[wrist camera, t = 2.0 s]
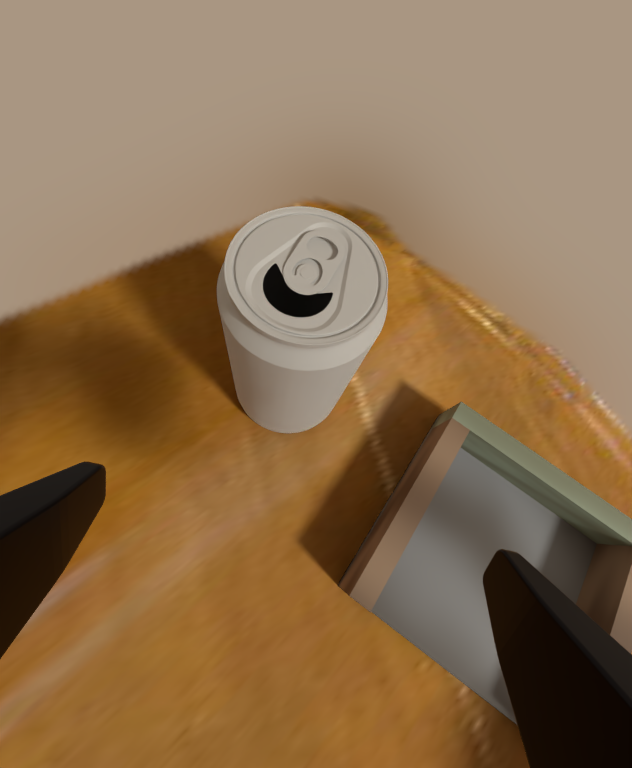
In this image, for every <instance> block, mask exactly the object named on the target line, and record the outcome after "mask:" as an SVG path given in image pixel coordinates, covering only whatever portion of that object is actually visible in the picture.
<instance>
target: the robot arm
mask: <svg viewBox="0 0 632 768" xmlns="http://www.w3.org/2000/svg"><path fill="white" fill-rule="evenodd" d="M105 495H106V470H105V467H104V466H103V465H101V464H96V463H91V462H82V463H79V464H77V465H74V466H72V467H69V468H67V469H64V470H62V471H59V472H57V473H55V474H52V475H50V476H47V477H45V478H42V479H40V480H37V481H35V482H33V483H30V484H28V485H25V486H23V487H20V488H18V489H15V490H13V491H11V492H8V493H6V494H3V495H1V496H0V659H1V657H2V656H3V654H4V653H5V652H6V650H7V649H8V648H9V646H10V645H11V643H12V642H13V641H14V639H15V638H16V636H17V635H18V634H19V632H20V631H21V630H22V628H23V627H24V625H25V624H26V623H27V621H28V620H29V619H30V617H31V616H32V614H33V613H34V612H35V610H36V609H37V608H38V606H39V605H40V603H41V602H42V601H43V599H44V598H45V597H46V595H47V594H48V592H49V591H50V590H51V588H52V587H53V585H54V584H55V583H56V581H57V580H58V578H59V577H60V575H61V574H62V573H63V571H64V570H65V568H66V566H67V565H68V563H69V561H70V560H71V558H72V556H73V555H74V553H75V551H76V549H77V548H78V546H79V544H80V543H81V541H82V539H83V537H84V536H85V534H86V532H87V531H88V529H89V527H90V525H91V524H92V522H93V520H94V519H95V517H96V515H97V513H98V512H99V510H100V508H101V507H102V505H103V502H104V500H105ZM483 587H484V592H485V597H486V602H487V607H488V612H489V617H490V622H491V627H492V632H493V638H494V643H495V647H496V651H497V656H498V659H499V663H500V667H501V670H502V674H503V677H504V681H505V684H506V687H507V691H508V694H509V698H510V701H511V704H512V708H513V711H514V715H515V718H516V721H517V725H518V728H519V732H520V735H521V738H522V742H523V745H524V749H525V752H526V756H527V759H528V762H529V766H530V768H632V654H630V653H629V652H628V651H627V650H626V649H625V648H624V647H623V646H622V645H620V644H619V643H618V642H617V641H616V640H615V639H614V638H613V637H612V636H610V635H609V634H608V633H607V632H606V631H605V630H604V629H603V628H602V627H600V626H599V625H598V624H597V623H596V622H595V621H594V620H593V619H592V618H590V617H589V616H588V615H587V614H586V613H585V612H584V611H583V610H582V609H580V608H579V607H578V606H577V605H576V604H575V603H574V602H573V601H572V600H570V599H569V598H568V597H567V596H566V595H565V594H564V593H563V592H562V591H560V590H559V589H558V588H557V587H556V586H555V585H554V584H553V583H552V582H550V581H549V580H548V579H547V578H546V577H545V576H544V575H543V574H542V573H540V572H539V571H538V570H537V569H536V568H535V567H534V566H533V565H532V564H530V563H529V562H528V561H527V560H526V559H525V558H524V557H523V556H521V555H520V554H519V553H517V552H514V551H510V550H505V549H499V550H498V551H496V553H495V554H494V556H493V558H492V559H491V561H490V563H489V565H488V566H487V568H486V570H485V572H484V574H483Z"/></svg>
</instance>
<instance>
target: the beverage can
mask: <svg viewBox="0 0 632 768" xmlns="http://www.w3.org/2000/svg"><path fill="white" fill-rule="evenodd" d="M387 290H388V273H387V268H386V265H385V261H384V259H383V256H382V254H381V252H380V250H379V249H378V247H377V246H376V244H375V243H374V241H373V240H372V239H371V238H370V237H369V236H368V235H367V234H366V233H365V232H364V231H363V230H362V229H361V228H360V227H358V226H357V225H356V224H354V223H353V222H351V221H350V220H348V219H346V218H344V217H343V216H340V215H338V214H336V213H333V212H330V211H327V210H323V209H319V208H313V207H302V206H295V207H284V208H279V209H275V210H272V211H269V212H266V213H264V214H261V215H259V216H257V217H256V218H254V219H252V220H251V221H249V222H248V223H247V224H246V225H244V226H243V227H242V228H241V229H240V230H239V231H238V233H237V234H236V235H235V236H234V238H233V240H232V241H231V243H230V245H229V247H228V250H227V253H226V257H225V261H224V263H223V265H222V268H221V271H220V273H219V277H218V282H217V302H218V307H219V312H220V317H221V322H222V326H223V331H224V336H225V341H226V345H227V350H228V355H229V360H230V365H231V369H232V374H233V379H234V384H235V389H236V393H237V397H238V400H239V402H240V404H241V406H242V407H243V409H244V411H245V412H246V414H247V415H248V416H249V417H250V418H251V419H252V420H253V421H254V422H256V423H257V424H259V425H260V426H262V427H264V428H266V429H269V430H271V431H275V432H279V433H297V432H302V431H305V430H308V429H310V428H312V427H314V426H316V425H318V424H319V423H320V422H322V421H323V420H324V419H325V418H326V417H327V416H328V415H329V414H330V412H331V411H332V409H333V408H334V406H335V404H336V403H337V401H338V400H339V398H340V396H341V395H342V393H343V392H344V390H345V388H346V387H347V385H348V384H349V382H350V380H351V379H352V377H353V375H354V374H355V372H356V371H357V369H358V367H359V366H360V364H361V363H362V361H363V359H364V358H365V356H366V355H367V353H368V351H369V350H370V348H371V346H372V345H373V343H374V342H375V340H376V338H377V337H378V335H379V334H380V332H381V330H382V327H383V325H384V321H385V318H386V314H387Z"/></svg>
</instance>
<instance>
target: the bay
mask: <svg viewBox="0 0 632 768" xmlns="http://www.w3.org/2000/svg"><path fill="white" fill-rule="evenodd" d="M499 549H505V550H510V551H514V552H517V553H519V554H520V555H521V556H523V557H524V558H525V559H526V560H527V561H528V562H529V563H530V564H532V565H533V566H534V567H535V568H536V569H537V570H538V571H539V572H540V573H542V574H543V575H544V576H545V577H546V578H547V579H548V580H549V581H550V582H552V583H553V584H554V585H555V586H556V587H557V588H558V589H559V590H560V591H562V592H563V593H564V594H565V595H566V596H567V597H568V598H569V599H570V600H572V601H573V602H574V603H575V604H576V605H577V606H578V607H579V608H580V609H582V610H583V611H584V612H585V613H586V614H587V615H588V616H589V617H590V618H592V619H593V620H594V621H595V622H596V623H597V624H598V625H599V626H600V627H602V628H603V629H604V630H605V631H606V632H607V633H608V634H609V635H610V636H612V637H613V638H614V639H615V640H616V641H617V642H618V643H619V644H620V645H622V646H623V647H624V648H625V649H626V650H627V651H628V652H629V653H630V654H631V652H632V519H631V518H629V517H628V516H626V515H625V514H623V513H622V512H620V511H619V510H618V509H616V508H615V507H613V506H612V505H610V504H609V503H607V502H606V501H605V500H603V499H602V498H600V497H599V496H597V495H596V494H594V493H593V492H592V491H590V490H589V489H587V488H586V487H584V486H583V485H581V484H580V483H578V482H577V481H576V480H574V479H573V478H571V477H570V476H568V475H567V474H565V473H564V472H563V471H561V470H560V469H558V468H557V467H555V466H554V465H552V464H551V463H549V462H548V461H547V460H545V459H544V458H542V457H541V456H539V455H538V454H536V453H535V452H534V451H532V450H531V449H529V448H528V447H526V446H525V445H523V444H522V443H520V442H519V441H518V440H516V439H515V438H513V437H512V436H510V435H509V434H507V433H506V432H505V431H503V430H502V429H500V428H499V427H497V426H496V425H494V424H493V423H492V422H490V421H489V420H487V419H486V418H484V417H483V416H481V415H480V414H478V413H477V412H476V411H474V410H473V409H471V408H470V407H468V406H467V405H465V404H464V403H463V402H460V403H458V404H457V405H455V406H453V407H452V408H450V409H448V410H447V411H445V412H443V413H442V414H440V415H439V416H438V417H437V419H436V421H435V422H434V424H433V426H432V427H431V429H430V431H429V432H428V434H427V436H426V437H425V439H424V441H423V442H422V444H421V446H420V448H419V449H418V451H417V453H416V454H415V456H414V458H413V459H412V461H411V463H410V464H409V466H408V468H407V469H406V471H405V473H404V474H403V476H402V478H401V479H400V481H399V483H398V484H397V486H396V488H395V490H394V491H393V493H392V495H391V496H390V498H389V500H388V501H387V503H386V505H385V506H384V508H383V510H382V511H381V513H380V515H379V516H378V518H377V520H376V521H375V523H374V525H373V526H372V528H371V530H370V532H369V533H368V535H367V537H366V538H365V540H364V542H363V543H362V545H361V547H360V548H359V550H358V552H357V553H356V555H355V557H354V558H353V560H352V562H351V563H350V565H349V567H348V568H347V570H346V572H345V574H344V575H343V577H342V579H341V580H340V582H339V584H338V586H339V587H340V588H341V589H342V590H343V591H344V592H346V593H347V594H348V595H349V596H350V597H351V598H353V599H354V600H355V601H357V602H358V603H359V604H360V605H362V606H363V607H364V608H366V609H367V610H368V611H369V612H372V613H374V614H375V615H376V616H378V617H379V618H380V619H381V620H383V621H384V622H385V623H387V624H388V625H389V626H390V627H392V628H393V629H394V630H396V631H397V632H398V633H399V634H401V635H402V636H403V637H405V638H406V639H407V640H408V641H410V642H411V643H412V644H414V645H415V646H416V647H417V648H419V649H420V650H421V651H423V652H424V653H425V654H426V655H428V656H429V657H430V658H432V659H433V660H434V661H435V662H437V663H438V664H439V665H441V666H442V667H443V668H444V669H446V670H447V671H448V672H450V673H451V674H452V675H454V676H455V677H456V678H457V679H459V680H460V681H461V682H463V683H464V684H465V685H466V686H468V687H469V688H470V689H472V690H473V691H474V692H475V693H477V694H478V695H479V696H481V697H482V698H483V699H484V700H486V701H487V702H488V703H490V704H491V705H492V706H493V707H495V708H496V709H497V710H499V711H500V712H501V713H502V714H504V715H505V716H506V717H508V718H509V719H510V720H511V721H513V722H514V723H515V724H517V721H516V718H515V715H514V711H513V708H512V704H511V701H510V698H509V694H508V691H507V687H506V684H505V681H504V677H503V674H502V670H501V667H500V663H499V659H498V656H497V651H496V647H495V643H494V638H493V632H492V627H491V622H490V617H489V612H488V607H487V602H486V597H485V592H484V587H483V574H484V572H485V570H486V568H487V566H488V565H489V563H490V561H491V559H492V558H493V556H494V554H495V553H496V551H498V550H499Z"/></svg>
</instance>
